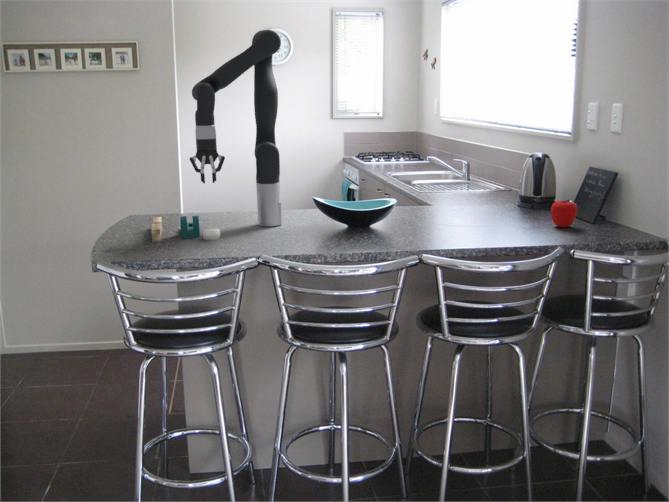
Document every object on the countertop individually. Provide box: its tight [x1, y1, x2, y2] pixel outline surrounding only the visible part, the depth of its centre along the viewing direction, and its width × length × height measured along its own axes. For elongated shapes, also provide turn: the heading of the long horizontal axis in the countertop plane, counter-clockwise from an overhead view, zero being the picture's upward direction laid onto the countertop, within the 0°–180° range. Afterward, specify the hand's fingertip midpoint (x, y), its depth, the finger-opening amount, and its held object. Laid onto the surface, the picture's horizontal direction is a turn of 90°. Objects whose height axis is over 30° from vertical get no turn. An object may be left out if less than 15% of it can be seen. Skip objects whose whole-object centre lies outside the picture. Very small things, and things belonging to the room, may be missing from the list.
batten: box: [151, 216, 163, 243], centre depth 255 cm, size 3×24×5 cm, turn 13°
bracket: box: [179, 215, 201, 239], centre depth 258 cm, size 18×7×8 cm, turn 11°
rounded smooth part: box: [202, 227, 221, 241], centre depth 248 cm, size 6×6×4 cm
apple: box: [550, 200, 579, 228], centre depth 258 cm, size 10×10×11 cm
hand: (208, 182), depth 255 cm, fingers open, 3 cm apart
